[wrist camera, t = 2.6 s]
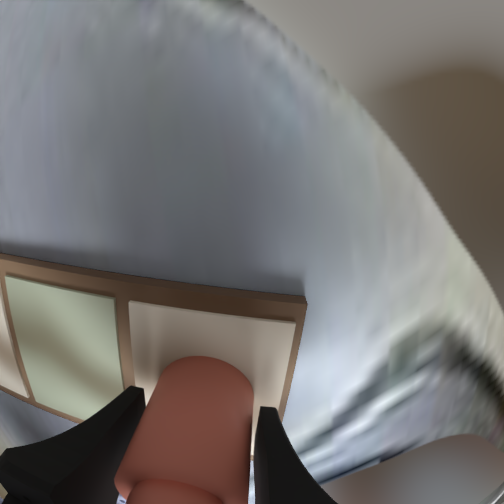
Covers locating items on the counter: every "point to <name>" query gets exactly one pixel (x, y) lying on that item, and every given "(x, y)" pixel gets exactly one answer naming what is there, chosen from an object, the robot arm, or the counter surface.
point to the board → (134, 335)
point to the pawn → (192, 438)
